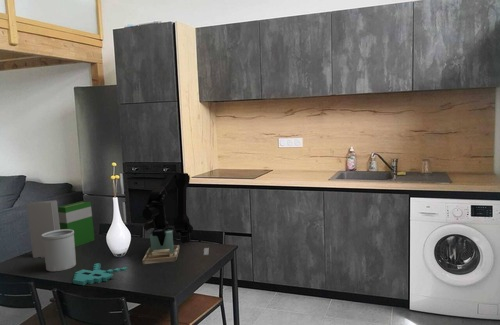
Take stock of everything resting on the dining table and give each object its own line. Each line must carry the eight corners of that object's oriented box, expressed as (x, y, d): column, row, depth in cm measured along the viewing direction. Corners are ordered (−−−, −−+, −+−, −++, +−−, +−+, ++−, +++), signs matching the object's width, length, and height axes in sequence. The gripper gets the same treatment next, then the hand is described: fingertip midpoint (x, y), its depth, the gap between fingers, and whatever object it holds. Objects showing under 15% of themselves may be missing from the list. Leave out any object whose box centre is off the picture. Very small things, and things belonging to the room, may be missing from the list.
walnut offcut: (149, 256, 209) (149, 253, 209) (169, 254, 211) (169, 251, 210) (148, 259, 205) (148, 256, 205) (169, 256, 206) (169, 254, 206)
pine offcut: (153, 253, 210) (153, 250, 209) (169, 251, 210) (169, 248, 209) (152, 255, 206) (151, 252, 205) (168, 254, 206) (168, 251, 205)
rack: (149, 253, 223) (148, 247, 223) (179, 250, 224) (179, 245, 224) (142, 266, 203) (142, 260, 203) (176, 262, 204) (175, 257, 204)
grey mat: (184, 250, 223) (184, 250, 223) (208, 248, 224) (208, 247, 224) (182, 257, 212) (182, 256, 212) (208, 255, 213) (208, 254, 213)
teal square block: (152, 253, 219) (150, 232, 217) (174, 251, 219) (172, 230, 218) (151, 255, 216) (149, 234, 214) (173, 253, 216) (171, 232, 215)
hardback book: (86, 239, 262) (82, 201, 259) (94, 240, 258) (90, 201, 255) (61, 247, 246) (56, 207, 244) (69, 248, 243) (65, 207, 240)
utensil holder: (64, 260, 221) (60, 227, 219) (84, 263, 214) (80, 229, 212) (38, 270, 208) (34, 235, 206) (58, 273, 201) (54, 237, 199)
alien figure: (97, 267, 207) (63, 282, 190) (97, 263, 207) (62, 277, 189) (128, 272, 198) (94, 288, 180) (127, 267, 198) (93, 283, 180)
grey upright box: (63, 253, 234) (56, 200, 230) (57, 256, 228) (51, 202, 225) (39, 254, 235) (32, 201, 232) (33, 257, 230) (26, 203, 227)
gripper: (146, 212, 224) (149, 241, 226) (140, 220, 206) (143, 251, 207) (167, 210, 225) (170, 239, 226) (163, 218, 206) (166, 249, 208)
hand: (162, 244), depth 217 cm, fingers closed on teal square block, 3 cm apart
